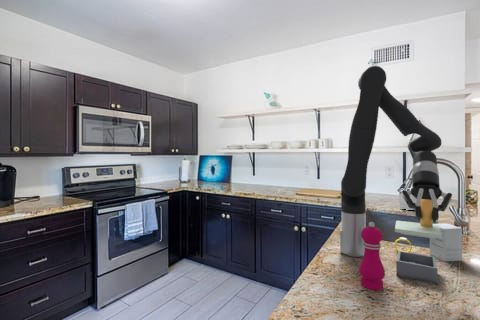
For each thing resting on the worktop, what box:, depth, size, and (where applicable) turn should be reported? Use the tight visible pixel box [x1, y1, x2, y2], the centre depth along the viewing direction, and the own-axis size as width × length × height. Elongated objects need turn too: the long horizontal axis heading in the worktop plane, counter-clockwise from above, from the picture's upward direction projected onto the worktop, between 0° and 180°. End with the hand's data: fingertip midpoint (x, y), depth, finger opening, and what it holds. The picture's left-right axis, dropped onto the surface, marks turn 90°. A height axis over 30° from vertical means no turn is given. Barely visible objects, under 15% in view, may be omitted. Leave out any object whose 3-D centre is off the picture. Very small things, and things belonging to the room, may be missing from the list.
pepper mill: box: [358, 221, 386, 291], centre depth 81 cm, size 7×7×20 cm
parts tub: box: [395, 250, 438, 285], centre depth 89 cm, size 11×11×5 cm
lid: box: [394, 199, 442, 239], centre depth 80 cm, size 11×11×10 cm
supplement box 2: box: [429, 222, 463, 262], centre depth 101 cm, size 7×7×13 cm
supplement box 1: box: [398, 188, 417, 211], centre depth 187 cm, size 9×9×15 cm
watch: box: [394, 236, 413, 253], centre depth 108 cm, size 6×3×6 cm, turn 62°
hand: (426, 219), depth 80 cm, fingers closed on lid, 3 cm apart
